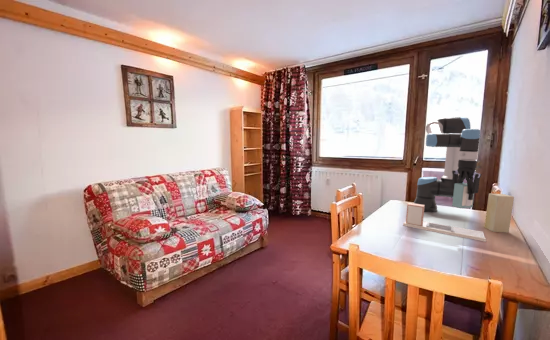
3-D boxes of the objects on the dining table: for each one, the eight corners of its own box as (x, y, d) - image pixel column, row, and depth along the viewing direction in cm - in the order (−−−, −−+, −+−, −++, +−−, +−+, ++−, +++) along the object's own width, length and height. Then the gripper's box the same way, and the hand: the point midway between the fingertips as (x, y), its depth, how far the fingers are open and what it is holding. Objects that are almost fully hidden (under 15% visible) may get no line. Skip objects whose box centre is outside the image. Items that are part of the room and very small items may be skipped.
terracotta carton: (406, 222, 145) (408, 202, 143) (422, 225, 140) (424, 204, 139) (405, 224, 141) (407, 204, 139) (421, 227, 136) (423, 206, 135)
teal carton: (451, 205, 130) (454, 183, 129) (463, 205, 132) (466, 182, 131) (460, 208, 126) (463, 185, 124) (472, 207, 128) (475, 184, 126)
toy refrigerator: (498, 230, 139) (503, 193, 136) (509, 235, 132) (514, 196, 129) (482, 229, 140) (487, 193, 137) (492, 234, 133) (497, 196, 130)
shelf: (407, 220, 153) (407, 215, 152) (482, 234, 132) (483, 228, 132) (402, 227, 140) (403, 222, 140) (485, 244, 119) (486, 237, 119)
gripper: (445, 158, 134) (441, 200, 137) (480, 161, 117) (474, 209, 120) (456, 158, 135) (452, 199, 139) (492, 161, 118) (486, 208, 121)
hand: (462, 204), depth 129 cm, fingers closed on teal carton, 5 cm apart
